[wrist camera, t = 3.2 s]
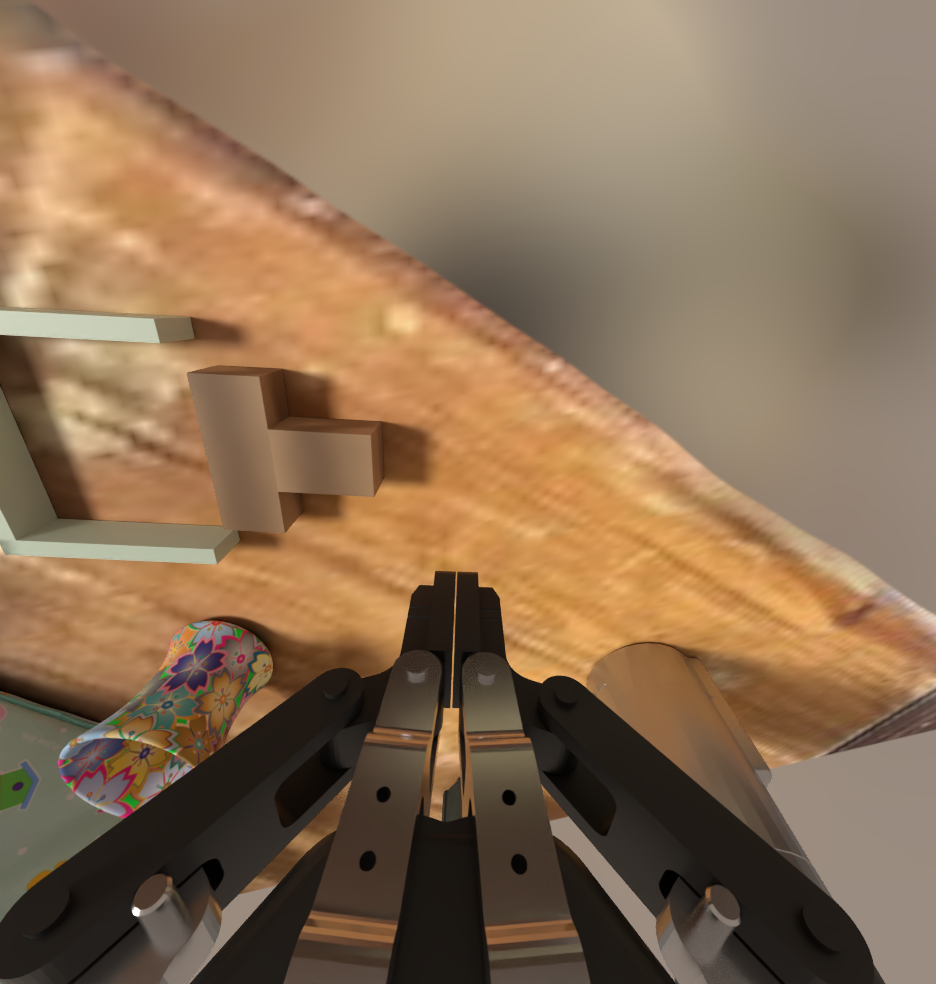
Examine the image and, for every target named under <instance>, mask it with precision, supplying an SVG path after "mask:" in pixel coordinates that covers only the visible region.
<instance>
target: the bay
mask: <svg viewBox="0 0 936 984" xmlns="http://www.w3.org/2000/svg"><path fill="white" fill-rule="evenodd" d="M0 335H14V336H33V337H52V338H71V339H90V340H109V341H127V342H146V343H166V342H173V341H181V340H189V339H195V337H194V332H193V328H192V323H191V319H190V317H182V316H164V315H145V314H127V313H108V312H90V311H71V310H52V309H34V308H15V307H0ZM239 541H240V539H239V534H238V531H237V530H224V528H223V526H207V525H185V524H164V523H142V522H121V521H99V520H77V519H58V518H57V515H56V513H55V511H54V509H53V506H52V504H51V502H50V499H49V497H48V495H47V492H46V490H45V488H44V486H43V483H42V481H41V479H40V476H39V474H38V472H37V469H36V467H35V465H34V463H33V460H32V458H31V456H30V453H29V451H28V449H27V446H26V444H25V442H24V440H23V437H22V435H21V433H20V430H19V428H18V426H17V424H16V421H15V419H14V417H13V414H12V412H11V410H10V407H9V405H8V403H7V401H6V398H5V396H4V394H3V391H2V389H1V387H0V545H1V547H2V549H3V551H4V553H5V555H21V556H44V557H66V558H88V559H110V560H132V561H155V562H177V563H199V564H218V563H219V562H220V561H221V560H222V559H223V558H224V557H225V556H226V555H227V554H228V553H229V552H230V551H231V550H232V549H233V548H234V546H235V545H236V544H237V543H238V542H239Z"/></svg>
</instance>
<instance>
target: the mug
mask: <svg viewBox="0 0 936 984" xmlns="http://www.w3.org/2000/svg"><path fill="white" fill-rule="evenodd" d="M272 672H273V661H272V657H271V655H270V652H269V650H268V649H267V647H266V646H265V645H264V643H263V642H262V641H261V640H260V639H259V638H257V637H256V636H255V635H254V634H252V633H251V632H249V631H247V630H246V629H244V628H241V627H239V626H237V625H234V624H231V623H227V622H222V621H200V622H195V623H192V624H189V625H187V626H185V627H183V628H182V629H180V630H179V631H178V632H177V633H176V634H175V635H174V636H173V638H172V640H171V642H170V644H169V650H168V653H167V656H166V658H165V660H164V662H163V664H162V666H161V667H160V669H159V670H158V672H157V673H156V675H155V676H154V677H153V678H152V680H151V681H150V682H149V683H148V684H147V685H146V686H145V687H144V688H143V689H142V690H141V691H140V692H139V693H138V694H137V695H136V696H135V697H134V698H133V699H132V700H131V701H129V702H128V703H127V704H126V705H125V706H123V707H122V708H121V709H120V710H118V711H117V712H116V713H114V714H113V715H111V716H110V717H109V718H107V719H106V720H104V721H103V722H101V723H100V724H98V725H96V726H95V727H93V728H92V729H90V730H88V731H87V732H85V733H83V734H81V735H79V736H78V737H76V738H75V739H73V740H72V741H70V742H69V743H68V744H67V745H66V746H65V747H64V748H63V750H62V751H61V754H60V756H59V759H58V767H59V772H60V775H61V777H62V779H63V780H64V782H65V783H66V785H67V786H68V787H69V788H70V789H71V790H72V791H73V792H74V793H75V794H76V795H78V796H79V797H80V798H82V799H83V800H85V801H86V802H88V803H89V804H91V805H93V806H95V807H97V808H99V809H101V810H103V811H105V812H108V813H110V814H113V815H116V816H119V817H123V818H126V817H127V816H129V815H130V814H131V813H133V812H134V811H136V810H137V809H138V808H140V807H141V806H142V805H144V804H145V803H147V802H148V801H149V800H151V799H152V798H153V797H155V796H156V795H157V794H159V793H160V792H162V791H163V790H164V789H166V788H167V787H168V786H170V785H171V784H172V783H174V782H175V781H177V780H178V779H179V778H181V777H182V776H183V775H185V774H186V773H187V772H189V771H190V770H192V769H193V768H194V767H196V766H197V765H198V764H200V763H201V762H203V761H204V760H205V759H207V758H208V757H209V756H211V755H212V754H213V753H215V752H216V751H218V750H219V749H220V748H222V747H223V746H224V743H225V740H226V737H227V735H228V733H229V730H230V728H231V726H232V724H233V722H234V720H235V718H236V716H237V715H238V713H239V712H240V710H241V709H242V707H243V706H244V705H245V703H246V702H247V701H248V700H249V699H250V697H251V696H253V695H254V694H255V693H256V692H257V691H259V690H260V689H262V688H263V687H264V686H265V685H266V684H267V683H268V681H269V680H270V678H271V675H272Z"/></svg>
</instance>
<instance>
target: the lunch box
mask: <svg viewBox="0 0 936 984" xmlns="http://www.w3.org/2000/svg"><path fill="white" fill-rule="evenodd" d="M98 724H100V723H98V722H94V721H91V720H88V719H85V718H82V717H79V716H77V715H74V714H71V713H68V712H64V711H61V710H57V709H53V708H50V707H47V706H44V705H41V704H37V703H35V702H32V701H29V700H26V699H24V698H21V697H18V696H15V695H12V694H9V693H6V692H2V691H0V922H1V921H2V919H3V918H4V916H5V915H6V914H7V912H8V911H9V910H10V909H11V907H12V906H13V905H14V904H15V903H16V902H17V901H18V900H19V899H20V897H21V896H22V895H23V894H25V893H26V892H27V891H28V890H29V889H30V888H31V887H32V886H34V885H35V884H36V883H37V882H39V881H40V880H41V879H43V878H44V877H45V876H47V875H48V874H50V873H51V872H52V871H54V870H55V869H56V868H58V867H59V866H60V865H62V864H63V863H65V862H66V861H67V860H69V859H70V858H71V857H73V856H74V855H75V854H77V853H78V852H80V851H81V850H82V849H84V848H85V847H86V846H88V845H89V844H91V843H92V842H93V841H95V840H96V839H97V838H99V837H100V836H101V835H103V834H104V833H106V832H107V831H108V830H110V829H111V828H112V827H114V826H115V825H116V824H118V823H119V822H121V821H122V820H123V819H125V818H123V817H119V816H116V815H113V814H110V813H108V812H105V811H103V810H101V809H99V808H97V807H95V806H93V805H91V804H89V803H88V802H86V801H85V800H83V799H82V798H80V797H79V796H78V795H76V794H75V793H74V792H73V791H72V790H71V789H70V788H69V787H68V786H67V785H66V783H65V782H64V780H63V779H62V777H61V775H60V772H59V767H58V759H59V756H60V754H61V751H62V750H63V748H64V747H65V746H66V745H67V744H68V743H69V742H70V741H72V740H73V739H75V738H76V737H78V736H79V735H81V734H83V733H85V732H87V731H88V730H90V729H92V728H93V727H95V726H96V725H98ZM0 984H3V983H2V982H0Z"/></svg>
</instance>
